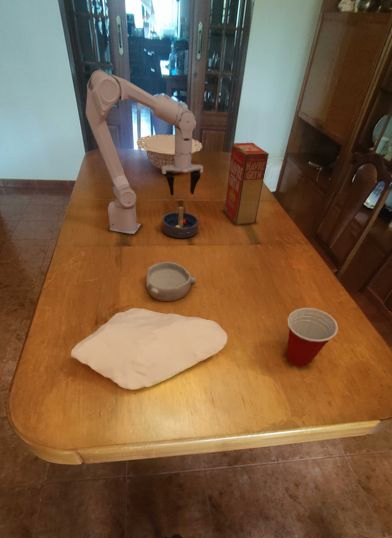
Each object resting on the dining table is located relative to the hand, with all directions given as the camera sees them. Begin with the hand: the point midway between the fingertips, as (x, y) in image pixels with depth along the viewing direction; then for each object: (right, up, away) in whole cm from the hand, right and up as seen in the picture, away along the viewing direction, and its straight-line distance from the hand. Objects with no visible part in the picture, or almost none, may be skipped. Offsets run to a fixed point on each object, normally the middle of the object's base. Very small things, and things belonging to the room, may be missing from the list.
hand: (181, 193), depth 117 cm
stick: (-1, -12, +2) cm, 12 cm away
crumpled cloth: (-5, -59, -41) cm, 71 cm away
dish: (-3, -40, -23) cm, 46 cm away
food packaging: (+23, -3, +14) cm, 27 cm away
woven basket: (-8, +33, +45) cm, 56 cm away
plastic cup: (+30, -60, -39) cm, 77 cm away
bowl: (-1, -13, +2) cm, 13 cm away
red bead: (0, -9, +4) cm, 10 cm away
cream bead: (-2, -13, 0) cm, 13 cm away
